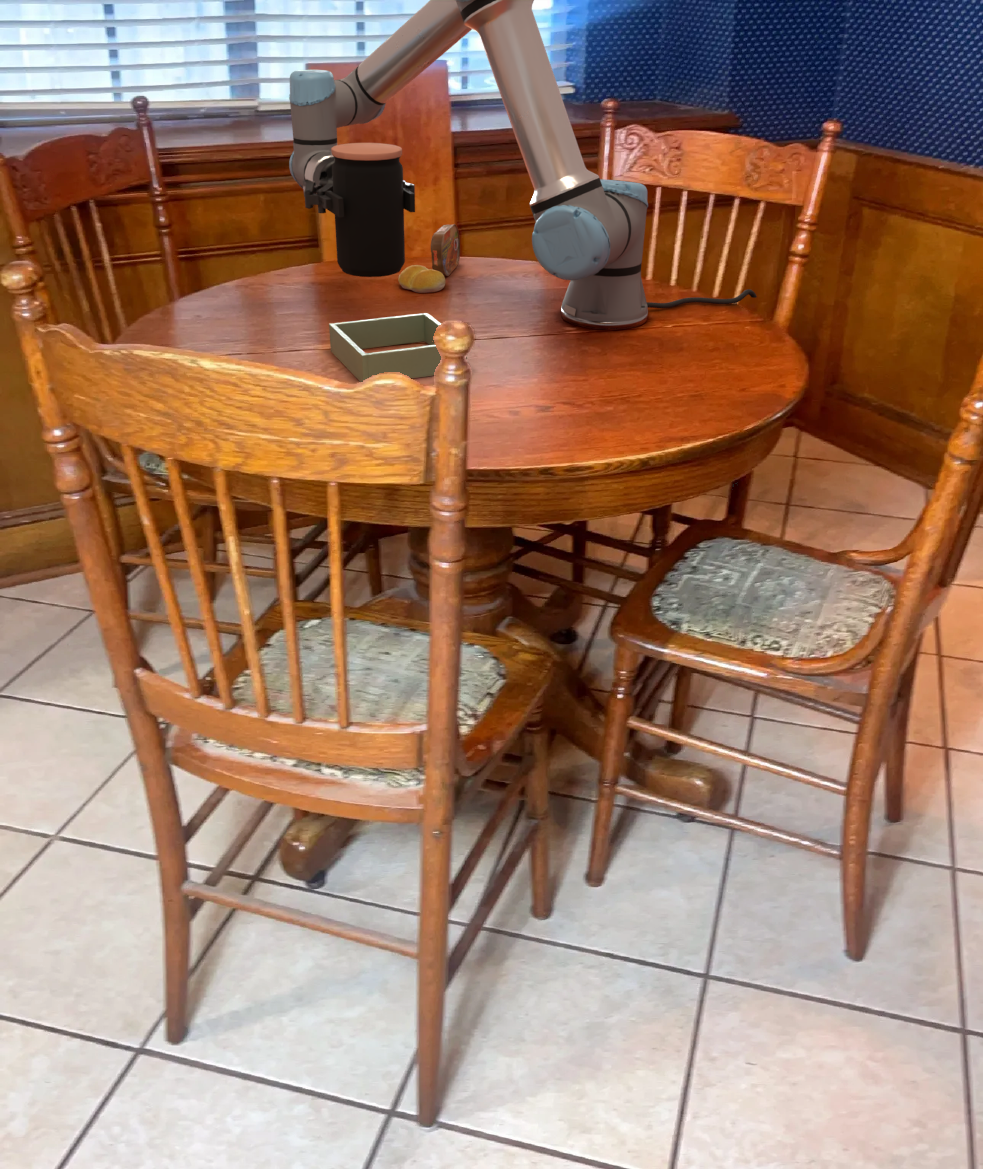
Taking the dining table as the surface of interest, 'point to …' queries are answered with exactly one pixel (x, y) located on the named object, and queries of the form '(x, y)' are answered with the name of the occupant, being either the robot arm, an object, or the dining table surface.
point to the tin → (445, 249)
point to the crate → (386, 333)
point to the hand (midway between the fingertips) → (377, 205)
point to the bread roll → (421, 279)
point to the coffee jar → (369, 208)
